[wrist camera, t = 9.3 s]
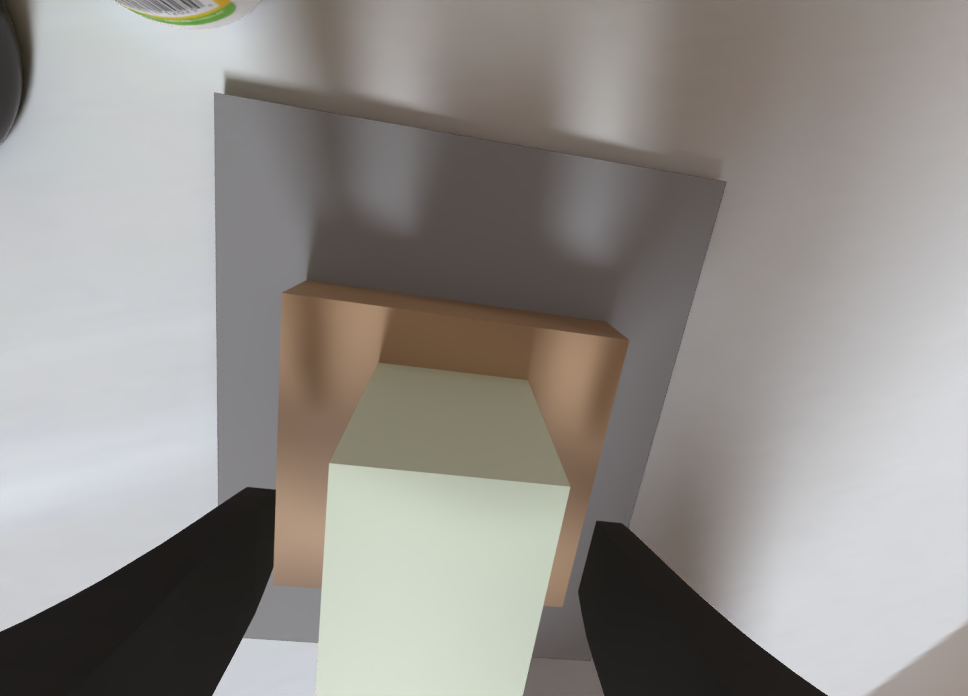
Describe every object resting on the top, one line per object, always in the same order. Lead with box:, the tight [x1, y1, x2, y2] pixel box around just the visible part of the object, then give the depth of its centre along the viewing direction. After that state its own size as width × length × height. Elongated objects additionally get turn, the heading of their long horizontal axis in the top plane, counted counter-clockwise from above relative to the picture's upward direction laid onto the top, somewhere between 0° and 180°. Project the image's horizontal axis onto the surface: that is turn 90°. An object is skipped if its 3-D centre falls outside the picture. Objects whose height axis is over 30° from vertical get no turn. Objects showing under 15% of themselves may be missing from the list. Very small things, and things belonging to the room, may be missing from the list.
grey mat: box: [214, 92, 726, 661], centre depth 16 cm, size 18×14×1 cm
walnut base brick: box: [273, 280, 629, 607], centre depth 14 cm, size 9×9×2 cm
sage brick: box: [315, 362, 570, 696], centre depth 11 cm, size 6×4×5 cm, turn 172°
